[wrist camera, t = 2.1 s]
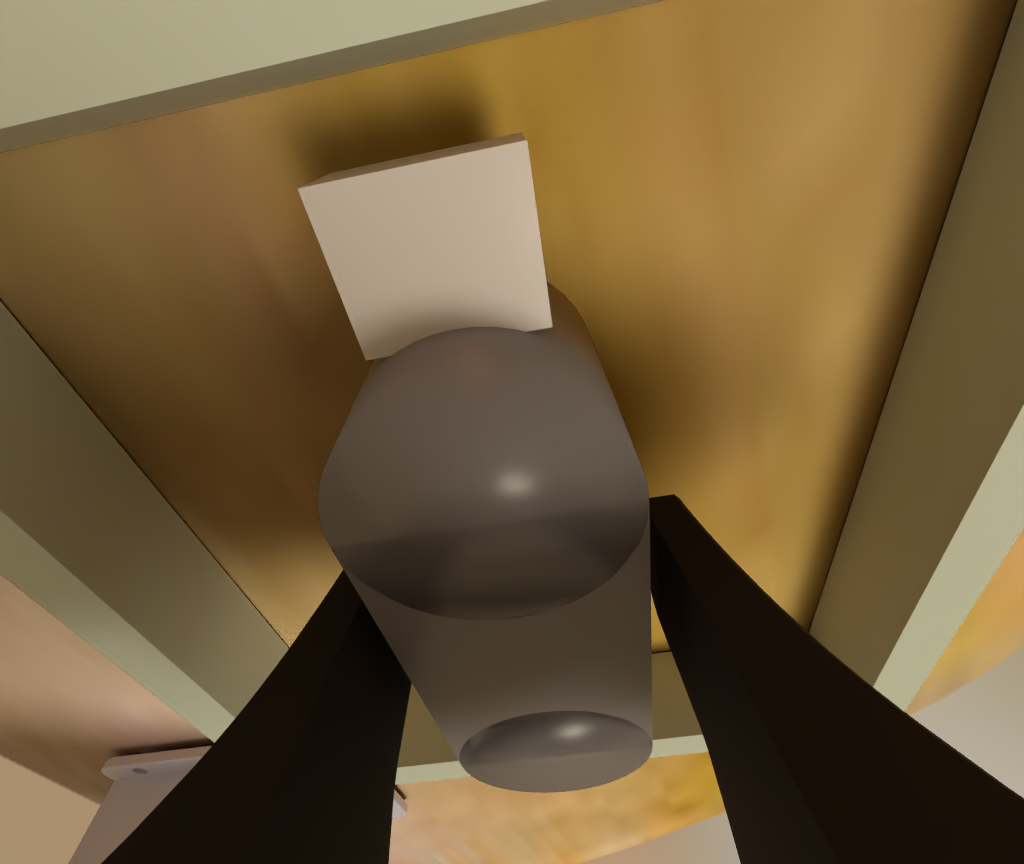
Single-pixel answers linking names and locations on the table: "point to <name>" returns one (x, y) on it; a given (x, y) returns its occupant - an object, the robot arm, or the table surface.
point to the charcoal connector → (487, 473)
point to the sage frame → (424, 750)
